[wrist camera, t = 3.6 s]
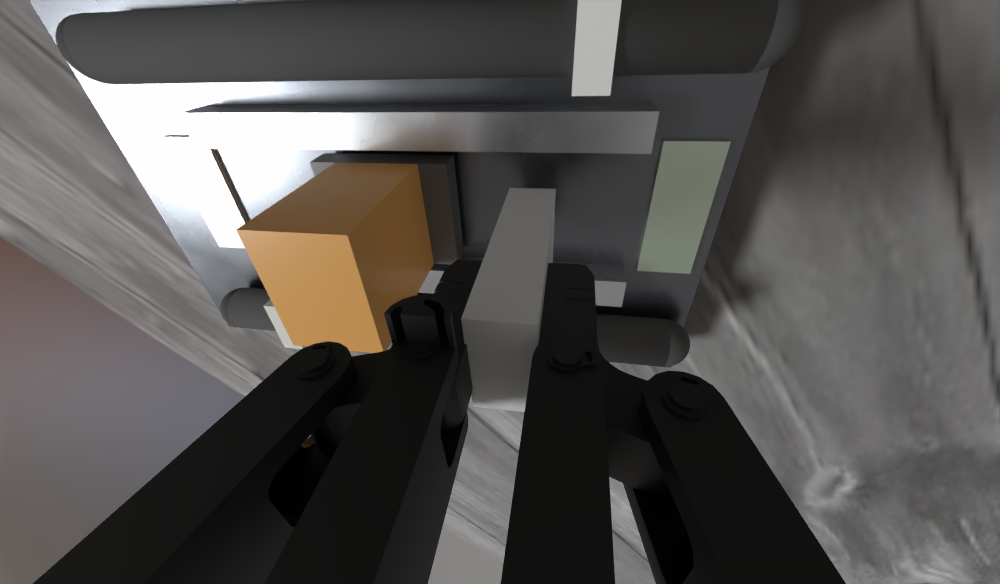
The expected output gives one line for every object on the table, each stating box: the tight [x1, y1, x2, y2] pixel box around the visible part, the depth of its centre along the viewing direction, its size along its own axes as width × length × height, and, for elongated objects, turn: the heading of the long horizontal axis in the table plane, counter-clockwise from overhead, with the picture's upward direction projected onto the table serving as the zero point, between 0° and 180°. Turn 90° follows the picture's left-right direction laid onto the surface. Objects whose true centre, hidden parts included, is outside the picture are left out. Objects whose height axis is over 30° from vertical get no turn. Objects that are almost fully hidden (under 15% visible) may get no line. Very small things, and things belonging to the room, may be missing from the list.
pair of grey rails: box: [55, 0, 807, 367], centre depth 15 cm, size 14×22×2 cm, turn 92°
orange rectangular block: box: [236, 153, 464, 353], centre depth 13 cm, size 4×5×6 cm
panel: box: [30, 0, 770, 367], centre depth 16 cm, size 16×24×3 cm, turn 92°
